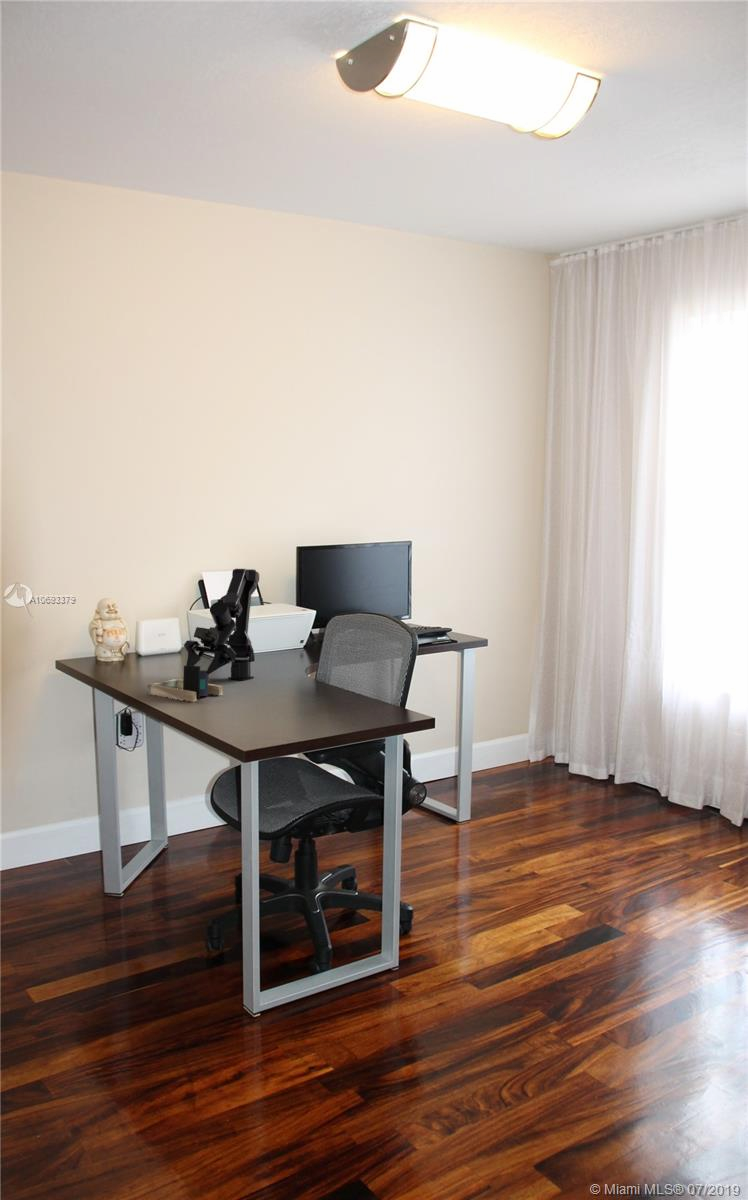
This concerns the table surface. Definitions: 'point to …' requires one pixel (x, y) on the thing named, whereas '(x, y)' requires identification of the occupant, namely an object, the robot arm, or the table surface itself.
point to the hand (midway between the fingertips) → (196, 671)
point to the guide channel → (179, 690)
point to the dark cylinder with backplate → (195, 680)
